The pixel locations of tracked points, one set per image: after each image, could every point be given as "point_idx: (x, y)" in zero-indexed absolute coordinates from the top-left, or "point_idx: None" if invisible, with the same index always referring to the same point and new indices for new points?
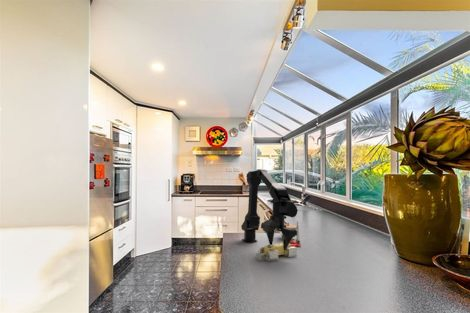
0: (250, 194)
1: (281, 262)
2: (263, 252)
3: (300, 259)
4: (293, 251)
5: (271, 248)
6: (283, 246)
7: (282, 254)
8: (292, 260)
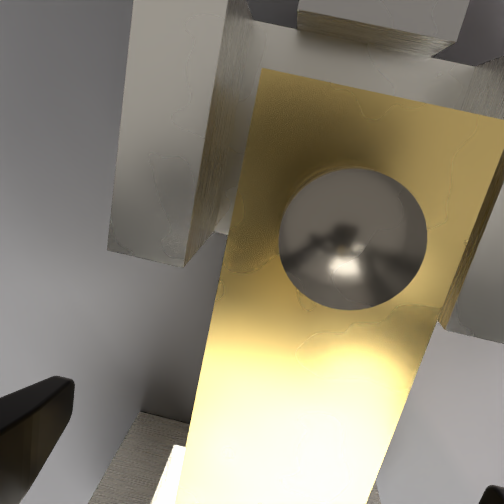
0: None
1: (77, 161)
2: None
3: None
4: None
5: (241, 172)
6: (18, 415)
7: None
8: (46, 349)
